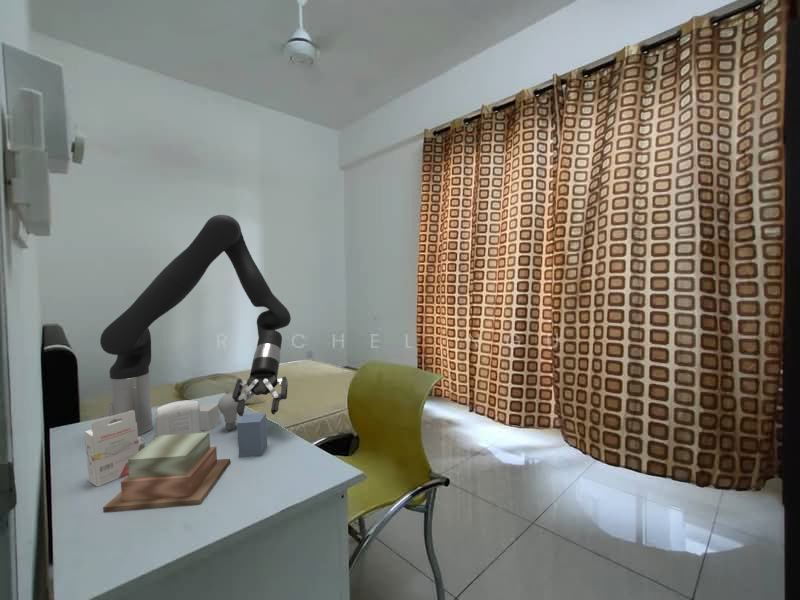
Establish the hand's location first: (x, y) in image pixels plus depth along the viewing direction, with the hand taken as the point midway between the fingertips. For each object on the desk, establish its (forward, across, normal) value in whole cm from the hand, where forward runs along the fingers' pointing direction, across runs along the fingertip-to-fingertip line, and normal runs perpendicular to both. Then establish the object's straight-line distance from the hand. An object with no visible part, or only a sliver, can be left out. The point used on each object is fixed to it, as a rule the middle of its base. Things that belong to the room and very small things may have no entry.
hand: (256, 414), depth 95 cm
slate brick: (+9, 0, +4) cm, 9 cm away
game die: (+4, -32, +8) cm, 33 cm away
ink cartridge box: (+14, -29, -1) cm, 32 cm away
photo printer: (+4, -21, +8) cm, 23 cm away
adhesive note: (-5, -20, +17) cm, 27 cm away
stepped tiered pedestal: (+18, -13, -6) cm, 23 cm away
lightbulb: (-2, -11, +14) cm, 18 cm away
